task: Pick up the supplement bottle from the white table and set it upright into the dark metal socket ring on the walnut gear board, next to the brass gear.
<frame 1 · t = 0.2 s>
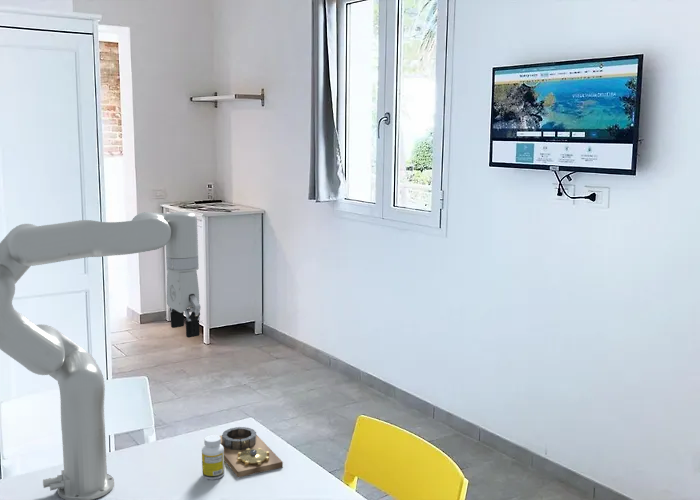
hand: (185, 331, 174), 36 cm above the table, tool pointing down, fingers open, 9 cm apart
supplement bottle: (213, 475, 177), on the table
brass gear: (253, 464, 183), resting on gear board
gear board: (245, 454, 188), on the table
socket ring: (239, 447, 192), resting on gear board
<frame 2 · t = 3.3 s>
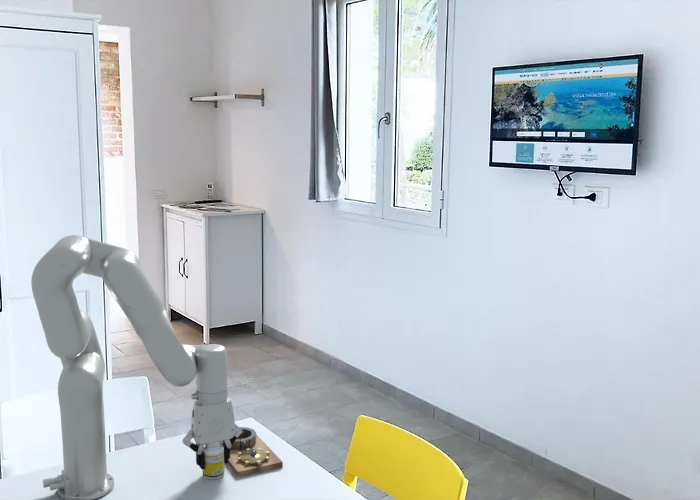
hand: (213, 463, 176), 3 cm above the table, tool pointing down, fingers closed on supplement bottle, 5 cm apart
supplement bottle: (213, 475, 177), on the table, touching gripper
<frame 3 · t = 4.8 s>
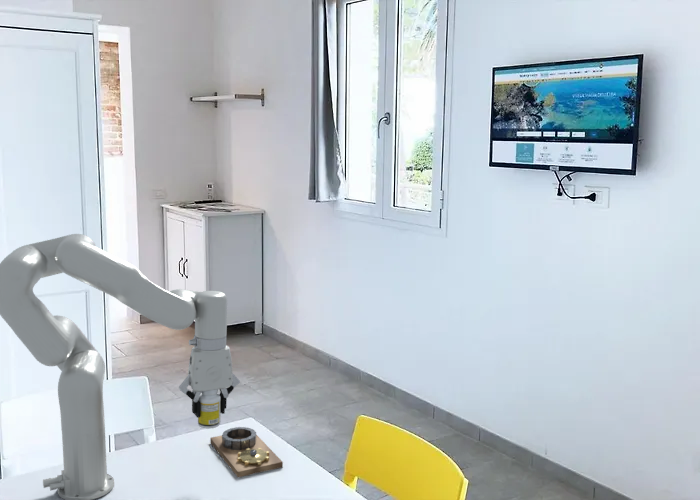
hand: (209, 412, 174), 16 cm above the table, tool pointing down, fingers closed on supplement bottle, 5 cm apart
supplement bottle: (208, 425, 174), point 13 cm above the table, touching gripper
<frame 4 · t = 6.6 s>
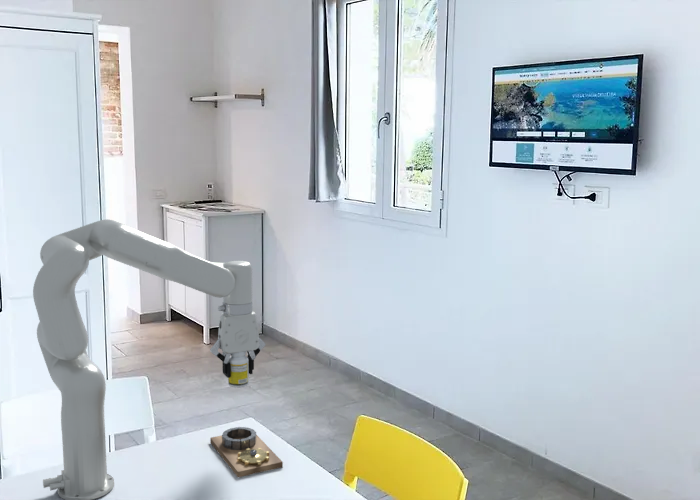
hand: (238, 373, 188), 21 cm above the table, tool pointing down, fingers closed on supplement bottle, 5 cm apart
supplement bottle: (238, 385, 189), point 18 cm above the table, touching gripper
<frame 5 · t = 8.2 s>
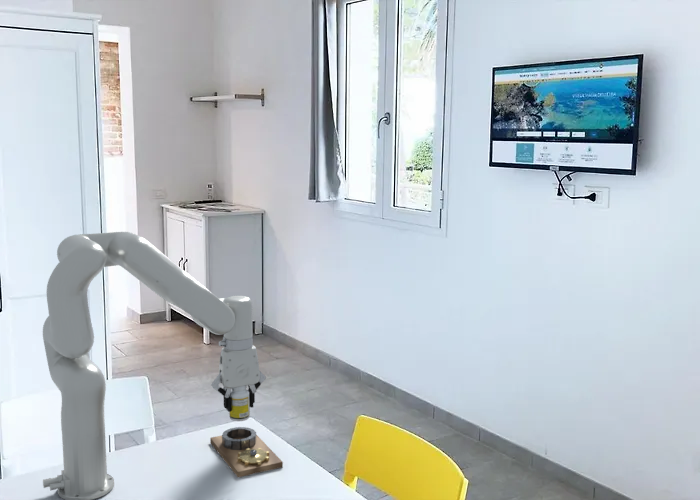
hand: (239, 407, 190), 12 cm above the table, tool pointing down, fingers closed on supplement bottle, 5 cm apart
supplement bottle: (239, 418, 191), point 8 cm above the table, touching gripper
when the fingers open (6 cm above the table, at t = 9.8 s): supplement bottle drops 1 cm, resting on gear board.
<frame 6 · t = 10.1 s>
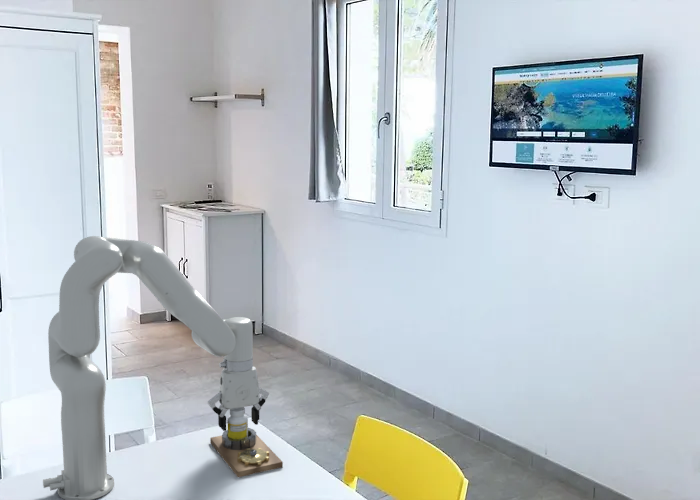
hand: (239, 425, 191), 6 cm above the table, tool pointing down, fingers open, 8 cm apart
supplement bottle: (237, 443, 191), point 1 cm above the table, touching gear board
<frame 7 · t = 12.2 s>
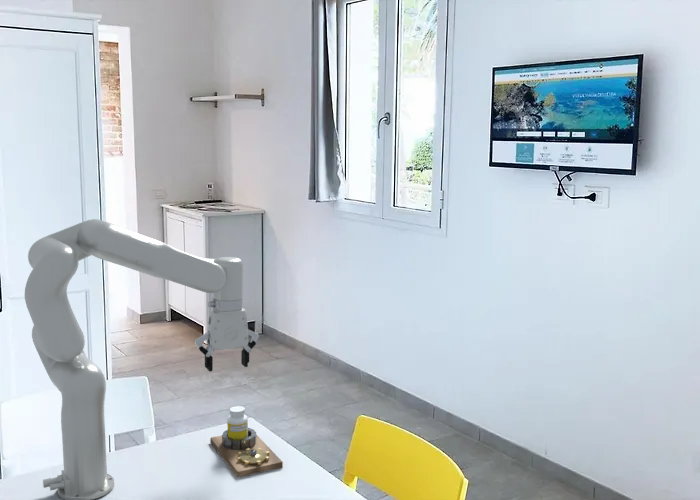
hand: (227, 367, 187), 23 cm above the table, tool pointing down, fingers open, 9 cm apart
nothing on the table moved.
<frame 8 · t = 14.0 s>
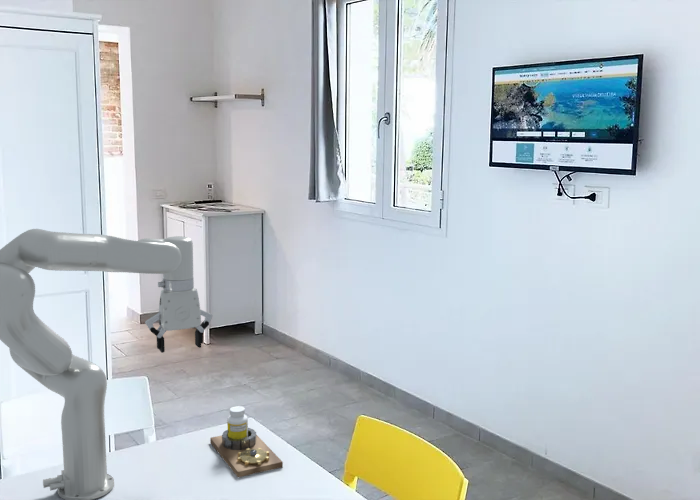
hand: (180, 348, 185), 28 cm above the table, tool pointing down, fingers open, 9 cm apart
nothing on the table moved.
at the end: supplement bottle 0.4 cm off-centre on the socket ring, point 1.3 cm above the socket ring's base; supplement bottle tilted 0°; the gripper is holding nothing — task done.
